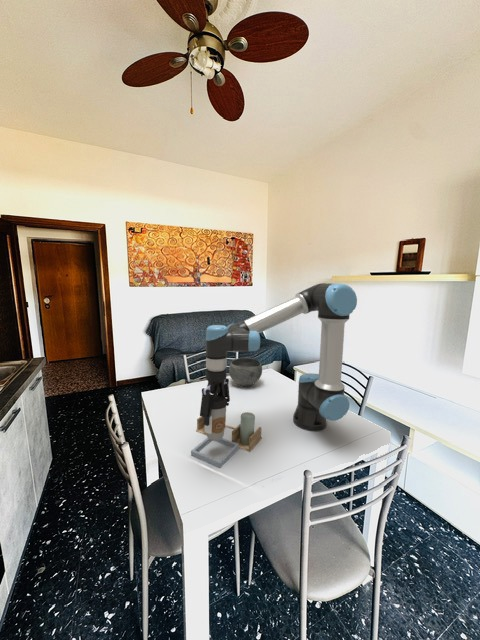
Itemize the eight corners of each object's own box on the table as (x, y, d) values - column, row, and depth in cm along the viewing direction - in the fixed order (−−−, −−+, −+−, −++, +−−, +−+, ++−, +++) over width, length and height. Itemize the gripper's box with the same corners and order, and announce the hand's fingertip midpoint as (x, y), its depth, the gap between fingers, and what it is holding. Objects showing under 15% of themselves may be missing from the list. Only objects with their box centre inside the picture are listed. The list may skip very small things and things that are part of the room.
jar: (256, 440, 107) (257, 415, 105) (248, 447, 103) (249, 421, 101) (244, 435, 111) (246, 410, 109) (236, 441, 106) (238, 416, 104)
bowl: (225, 389, 160) (225, 365, 158) (232, 377, 180) (232, 355, 178) (260, 392, 156) (260, 368, 154) (262, 379, 177) (263, 358, 175)
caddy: (261, 439, 109) (262, 426, 108) (249, 453, 100) (250, 439, 99) (210, 422, 122) (210, 409, 121) (195, 432, 113) (195, 419, 112)
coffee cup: (208, 445, 93) (209, 405, 91) (200, 433, 101) (201, 395, 99) (230, 439, 97) (230, 400, 95) (221, 428, 104) (221, 392, 102)
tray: (239, 450, 102) (239, 444, 102) (219, 470, 91) (219, 463, 91) (211, 439, 109) (211, 433, 108) (190, 457, 98) (190, 450, 97)
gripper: (223, 359, 106) (223, 412, 109) (188, 374, 88) (188, 437, 91) (240, 362, 102) (238, 417, 106) (206, 379, 84) (206, 444, 87)
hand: (215, 426), depth 98 cm, fingers closed on coffee cup, 8 cm apart
